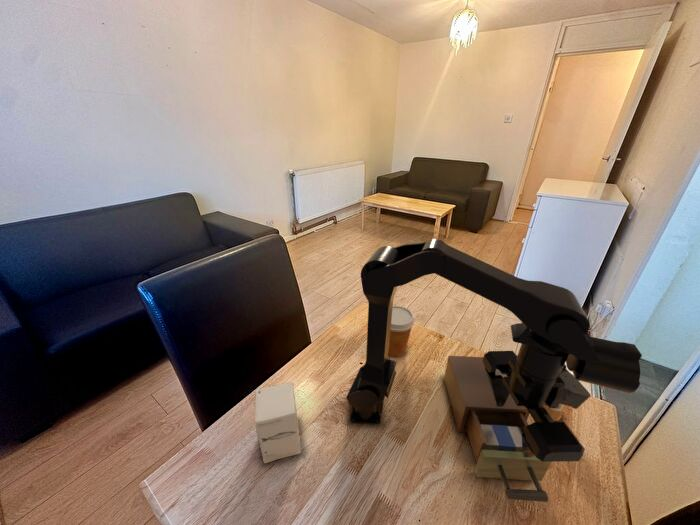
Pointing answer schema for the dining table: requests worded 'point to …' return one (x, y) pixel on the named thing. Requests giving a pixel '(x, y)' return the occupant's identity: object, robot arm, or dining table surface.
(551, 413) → the sprinkles bottle
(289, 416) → the white packaging box
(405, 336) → the orange tub
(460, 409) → the cabinet
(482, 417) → the drawer
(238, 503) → the dining table surface
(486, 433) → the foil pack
